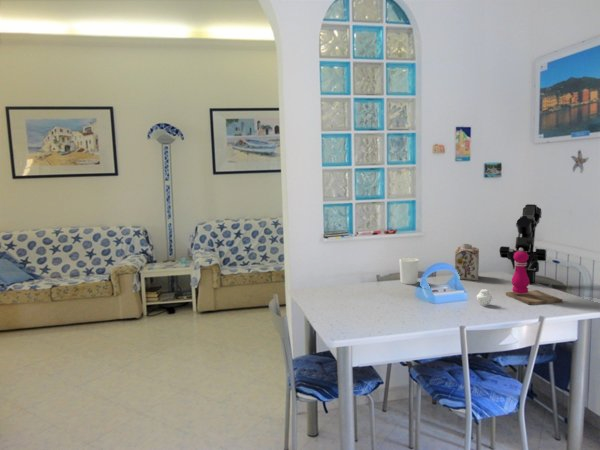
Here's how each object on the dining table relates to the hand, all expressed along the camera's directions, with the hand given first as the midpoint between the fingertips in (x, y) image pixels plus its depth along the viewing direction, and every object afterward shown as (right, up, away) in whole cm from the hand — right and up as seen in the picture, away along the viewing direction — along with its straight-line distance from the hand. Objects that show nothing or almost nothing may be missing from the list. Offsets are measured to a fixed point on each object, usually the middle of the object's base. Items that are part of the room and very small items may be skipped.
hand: (520, 268), depth 201 cm
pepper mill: (+1, -11, +3) cm, 11 cm away
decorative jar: (-8, -9, +42) cm, 44 cm away
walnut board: (+6, -13, 0) cm, 14 cm away
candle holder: (-41, -10, +34) cm, 54 cm away
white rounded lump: (-19, -15, -8) cm, 25 cm away
